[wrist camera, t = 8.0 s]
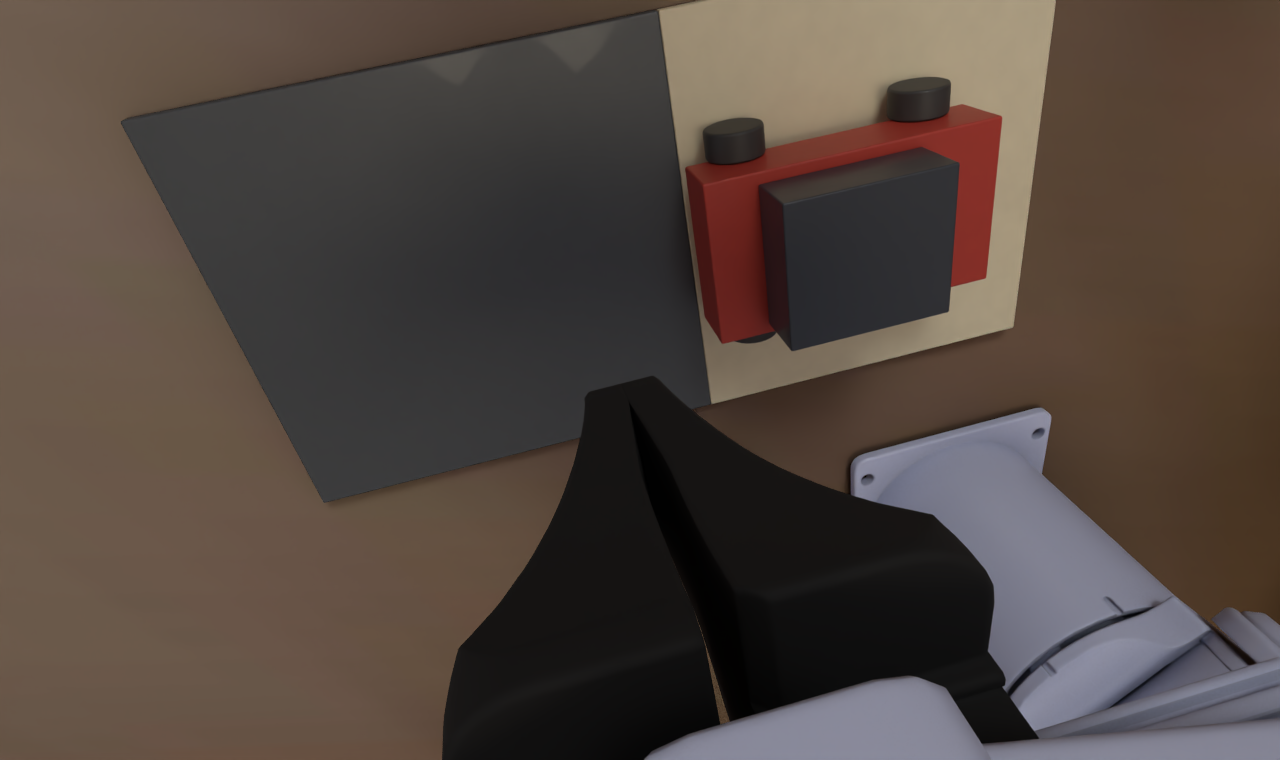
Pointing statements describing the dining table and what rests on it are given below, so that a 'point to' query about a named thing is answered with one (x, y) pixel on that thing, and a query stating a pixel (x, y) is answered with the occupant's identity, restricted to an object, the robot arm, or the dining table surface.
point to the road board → (551, 217)
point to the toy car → (844, 220)
